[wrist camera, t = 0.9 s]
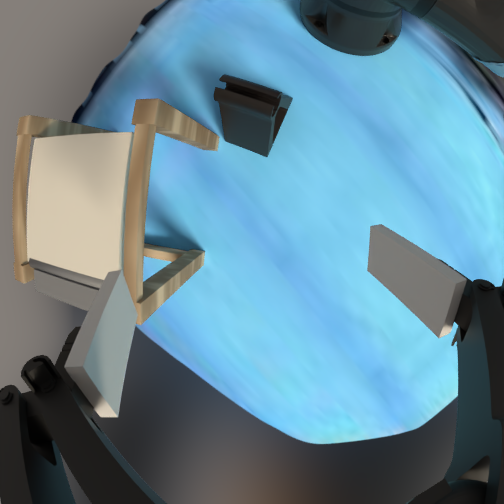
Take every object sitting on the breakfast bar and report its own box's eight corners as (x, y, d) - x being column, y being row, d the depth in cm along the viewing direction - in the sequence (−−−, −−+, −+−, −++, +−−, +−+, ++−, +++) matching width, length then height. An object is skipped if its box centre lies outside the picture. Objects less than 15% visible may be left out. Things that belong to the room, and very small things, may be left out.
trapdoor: (146, 137, 22) (130, 131, 19) (132, 309, 25) (117, 320, 23) (50, 141, 23) (32, 138, 21) (43, 280, 26) (27, 287, 24)
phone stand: (251, 84, 34) (235, 46, 22) (293, 99, 34) (293, 63, 22) (225, 141, 36) (198, 123, 25) (267, 157, 36) (256, 145, 25)
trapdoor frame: (219, 136, 36) (158, 98, 18) (203, 264, 41) (140, 325, 22) (110, 133, 38) (19, 117, 19) (101, 244, 42) (15, 279, 24)
